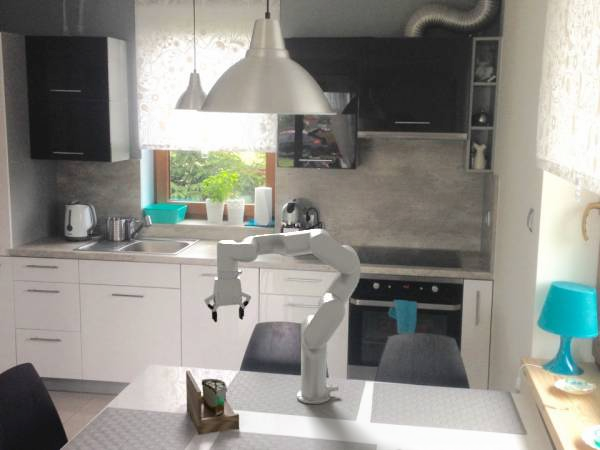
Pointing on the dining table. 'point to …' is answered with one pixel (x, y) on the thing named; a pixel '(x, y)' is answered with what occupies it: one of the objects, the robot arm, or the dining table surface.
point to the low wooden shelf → (204, 418)
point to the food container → (214, 396)
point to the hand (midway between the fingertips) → (228, 319)
